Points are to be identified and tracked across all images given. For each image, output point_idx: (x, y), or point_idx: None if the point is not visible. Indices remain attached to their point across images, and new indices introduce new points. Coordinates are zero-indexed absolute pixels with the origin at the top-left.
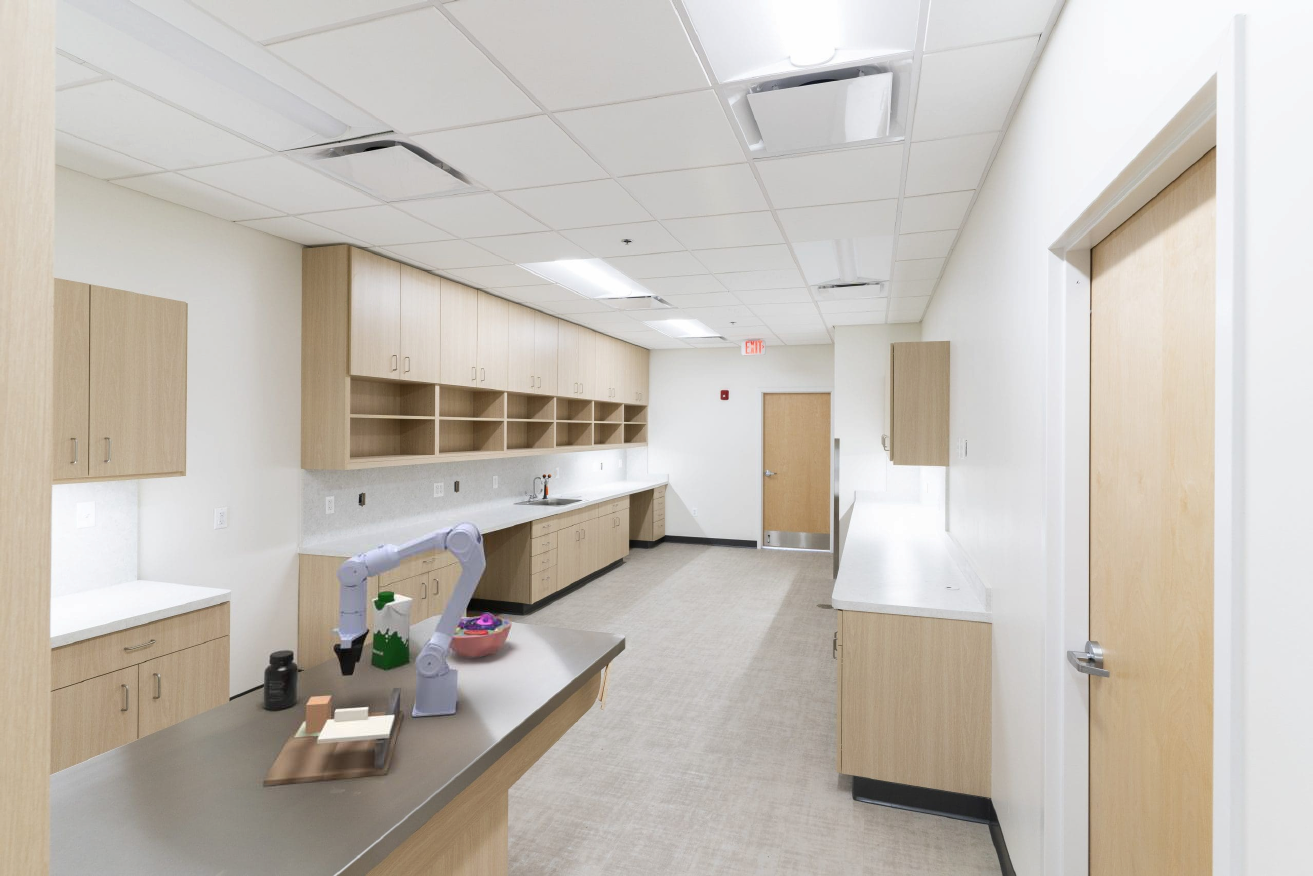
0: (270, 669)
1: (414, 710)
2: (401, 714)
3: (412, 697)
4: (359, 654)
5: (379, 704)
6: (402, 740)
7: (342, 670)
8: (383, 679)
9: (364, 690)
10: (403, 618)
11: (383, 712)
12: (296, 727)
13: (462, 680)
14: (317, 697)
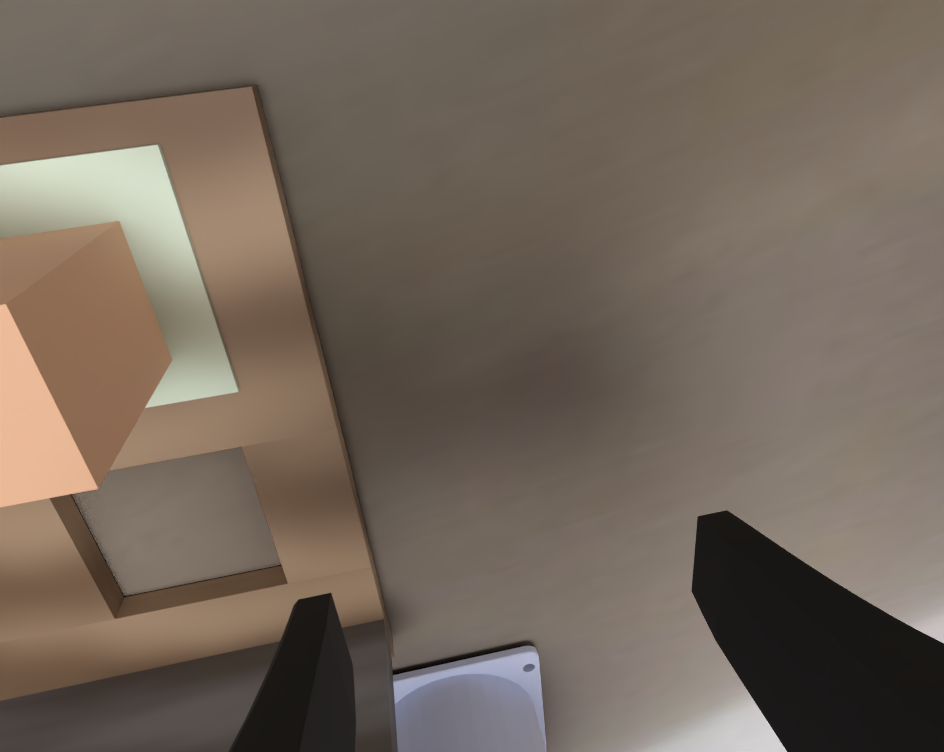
0: None
1: (410, 685)
2: None
3: (601, 608)
4: (745, 668)
5: (532, 493)
6: None
7: (276, 663)
8: (894, 396)
9: (758, 343)
10: None
11: (363, 586)
12: (54, 117)
13: (753, 723)
14: (5, 380)
